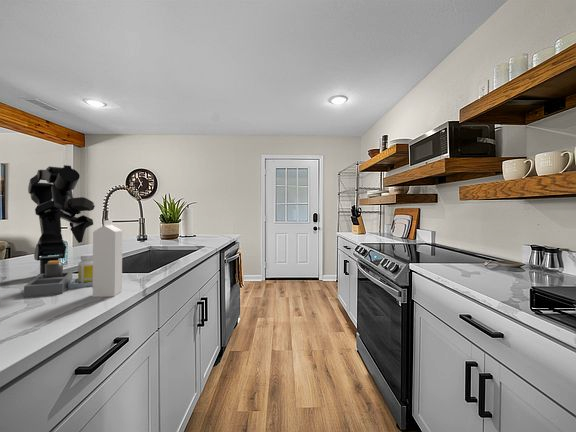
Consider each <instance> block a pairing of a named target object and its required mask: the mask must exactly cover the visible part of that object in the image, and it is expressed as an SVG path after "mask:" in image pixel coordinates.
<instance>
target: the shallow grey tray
mask: <svg viewBox="0 0 576 432" xmlns="http://www.w3.org/2000/svg"><path fill="white" fill-rule="evenodd" d="M63 263H64V262H61V259H59V260H56V261H48V263H47V264H45V274H40V273H39V274H40V275H39V274H38V275H39V276H36V277H35V278H34V279H32V280H31V281H29V282H28V283H27V284H25V285H24V286H23V297H24V298H27V297H39V296H41V297H42V296H51V295H52V296H53V295H61V294H62V295H63V294H64V292H65V291H66V290H67V289H68V284H69V283H70V282H71V280H72V279H73V271H69V272H68V271H67V272H65V271H64V264H63Z"/></svg>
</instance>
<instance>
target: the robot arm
mask: <svg viewBox="0 0 576 432" xmlns="http://www.w3.org/2000/svg"><path fill="white" fill-rule="evenodd" d="M80 178H81V177H80V173H79V172H78V171H77V170H75V169H74V168H72V166H71V165H67V164H66V165H65V164H64V165H63V167H60V166H59V167H57V166H48V167H47V168H46V169H38V170H37V173H36V174H35V175H34V176H33V177H31V178H30V179H29V183H28V186H27V190H28V194H30V198H31V199H30V200H32V202H33V203H35V204H36V205H37V206H36V207H35V209H34V213H35V215H36V216H38V219H39V225H40V234H41V235H40V237H39V239H38V241H37V244H35V245H36V246H35V250H34V252H33V253H34V254H33V256H34V257H33V258H34V259H33V260H35V261H37V262H38V261H39V273H38V274H37V276H39V275H40V274H45V264H47V263H48V261H56V260H61V259H66V250H67V246H66V243H65V242H64V239H63V234H62V224H61V223H62V222H61V219H62V220H64V221H66V222H68V223H69V226H70V228H69V229H70V231H71V233H72V234H73V236H74V238H75V239H76V241H77V243H78V244H80V243H82V242H83V240H84V235H85V232H86V229H87V228H89V227H92V226H94V221H93V218H91V217H89V216H86V215H81V216H78V217H76V215H80V214H81V213H82V212H85V211H88V212H90V211H93V210H94V209H95V207H96V206H95V203H94V202H93V201H92V200H90V199H89V198H87V197H83V196H81V197H74V194H73V190H75V188H76V186H77V184H78V181H79V179H80ZM40 181H46V182H40ZM37 276H36V277H37Z"/></svg>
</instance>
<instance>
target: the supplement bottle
mask: <svg viewBox="0 0 576 432" xmlns="http://www.w3.org/2000/svg"><path fill="white" fill-rule="evenodd" d="M80 260H81V261H79V262H78V264H77V265H78V267H77V270H78V271H77V273H78V275H77V277H78V282H77V283H88V282H93V253H89V254H88V253H87V254H81V255H80Z"/></svg>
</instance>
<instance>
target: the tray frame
mask: <svg viewBox="0 0 576 432" xmlns="http://www.w3.org/2000/svg"><path fill="white" fill-rule="evenodd" d="M87 286H90V287H93V282H88V283H78V278H72V280H71V282H70V283H69V284H68V287H67V289H74V287H77V288H87Z"/></svg>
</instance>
